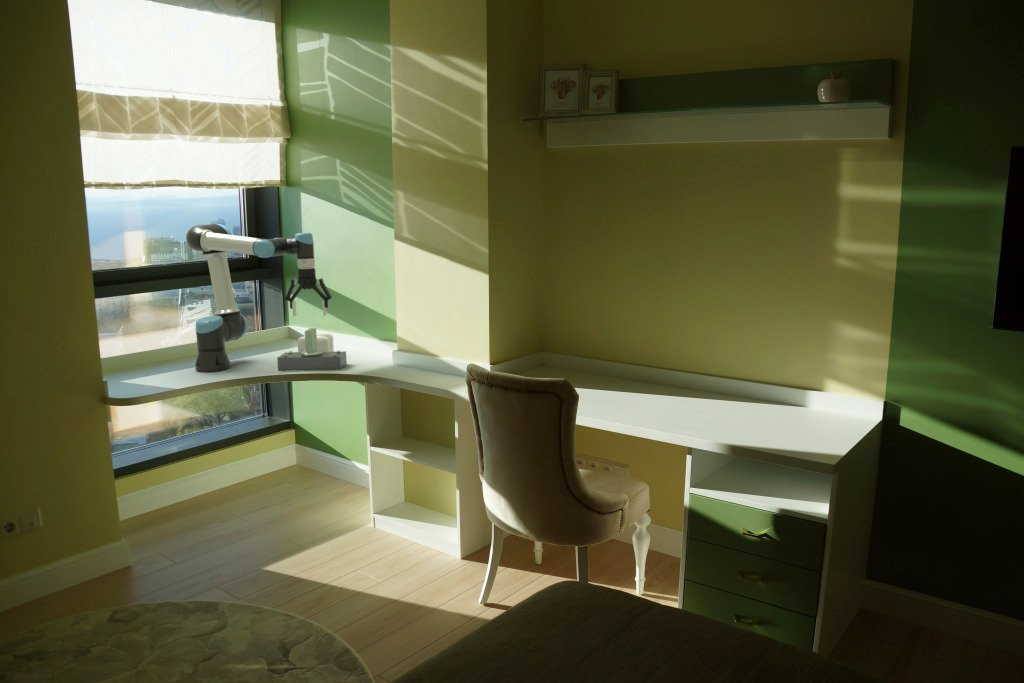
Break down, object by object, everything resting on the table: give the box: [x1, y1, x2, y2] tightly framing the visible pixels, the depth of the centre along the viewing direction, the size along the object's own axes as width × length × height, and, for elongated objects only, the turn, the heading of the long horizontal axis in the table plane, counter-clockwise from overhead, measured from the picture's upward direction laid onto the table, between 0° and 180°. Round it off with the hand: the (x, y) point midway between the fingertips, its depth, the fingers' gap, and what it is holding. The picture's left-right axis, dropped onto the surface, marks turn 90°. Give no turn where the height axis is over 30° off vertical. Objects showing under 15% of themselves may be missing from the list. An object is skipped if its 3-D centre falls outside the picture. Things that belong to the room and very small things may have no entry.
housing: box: [277, 350, 348, 372], centre depth 375 cm, size 28×12×7 cm, turn 88°
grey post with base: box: [301, 327, 323, 356], centre depth 374 cm, size 10×10×16 cm
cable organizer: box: [297, 332, 335, 352], centre depth 393 cm, size 15×11×12 cm
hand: (309, 315), depth 371 cm, fingers open, 13 cm apart
